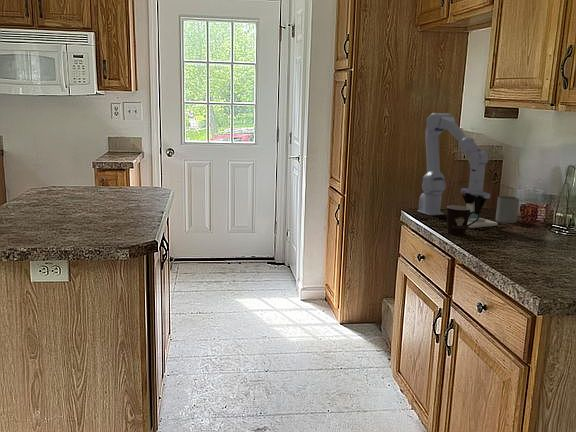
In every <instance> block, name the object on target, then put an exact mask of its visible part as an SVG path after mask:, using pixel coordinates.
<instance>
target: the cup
mask: <svg viewBox="0 0 576 432" xmlns="http://www.w3.org/2000/svg"><path fill="white" fill-rule="evenodd" d="M519 203H520V198H519V197H516V196H508V195H506V196H505V195H500V196H497V203H496V204H497V205H496V210H495V211H496V212H495V222H500V223H504V224H505V223H506V224H507V223H508V224H514V223H515V224H516V223H517V221H518V213H519Z"/></svg>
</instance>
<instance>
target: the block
mask: <svg viewBox="0 0 576 432" xmlns="http://www.w3.org/2000/svg"><path fill="white" fill-rule="evenodd" d="M465 207H469V208H470V212H473V211H475V203H467V204H465ZM480 215H481V214H479V217H480ZM469 218H478V215H477V214H475V213H472V214H471V215H470V216H469Z"/></svg>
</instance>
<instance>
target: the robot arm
mask: <svg viewBox="0 0 576 432" xmlns="http://www.w3.org/2000/svg"><path fill="white" fill-rule="evenodd" d="M444 131H448V132H449V133H450V134H451V135H452V136H453V138H455V139H456V141H458V143H459V144H458V145H459V148H460V149H461V150H462V152H463V153H464V154H465V156H467V161H468V163H469V168H470V169H469V179H468V187H467V188H466V187H465V188H464V187H462V188H460V194H462V199H463V200H464V203H465V205H466V204H467V203H475V212H477V213H479V214H480V213H481V211H482V209H483V206H484V205H485V203H486V202H487V200H488V199H490V198H491V193H488V192H485V191H484V184H485V183H484V182H485V173H486V164H488V163H489V160H490V155H489V153H488V151H487V150H484V149H482V147H480V146H479V145H478V144H477V143H476V142H475V139H474V138H473V137H470V136H467V135H465V133H464V132H463V130H462V129H461V128H460V126H459V125H458V123H457V122H456V119H455V117H453V115H452V114H451V113H449V112H446V113H445V112H443V113H442V112H441V113H440V112H439V113H438V112H432V113H431V114H429V116H428V117H427V118H426V128H425V131H424V132H425V133H424V135H425V137H424V138H425V155H426V156H425V157H426V173H425V174H424V175H423V177H422V184H421V189H422V193H421V194H420V196H419V200H418V209H417V210H416V212H418V213H421V214H423V215H428V216H441V215H443V216H444V215H445V213H444V212H441V207H442V206H441V203H442V195H443V192H444V191H445V190H446V188H447V183H446V180H445V175H444V174H443V173H442V172H441V165H440V163H441V162H440V148H439V147H440V146H439V141H440V140H439V135H440V134H441V133H443V132H444ZM475 214H476V213H475ZM480 215H481V214H480Z"/></svg>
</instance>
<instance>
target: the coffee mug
mask: <svg viewBox="0 0 576 432" xmlns="http://www.w3.org/2000/svg"><path fill="white" fill-rule="evenodd" d="M472 213H476V214H477V215H478V218H477V219H476V220H475V221H474V222H472V223H470V224H469V225H467V223H468V218H469V216H470V215H471V214H472ZM479 218H480V216H479V213H477V212H475V211H473V212H470V208H469V207H466V206H463V205H447V206H446V224H447V234H448V235H451V236H460V237H461V236H465V235H466V232H467V228H469V227H468V226H470V225H472V224H474V223H475V222H476V221H477V220H478V219H479Z"/></svg>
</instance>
